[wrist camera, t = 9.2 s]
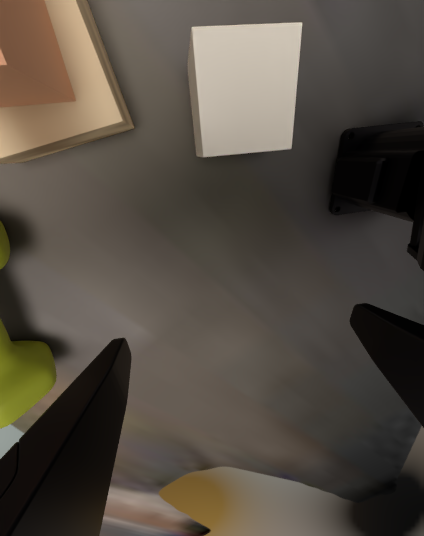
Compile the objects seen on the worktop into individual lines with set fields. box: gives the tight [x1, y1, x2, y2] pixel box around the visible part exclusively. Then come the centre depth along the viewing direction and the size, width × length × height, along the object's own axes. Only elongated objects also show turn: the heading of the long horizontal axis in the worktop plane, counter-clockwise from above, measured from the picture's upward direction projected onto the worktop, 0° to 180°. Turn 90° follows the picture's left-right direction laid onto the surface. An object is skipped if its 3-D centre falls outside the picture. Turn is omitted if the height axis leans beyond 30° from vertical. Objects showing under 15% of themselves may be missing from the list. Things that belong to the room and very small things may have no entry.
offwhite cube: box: [187, 22, 302, 157], centre depth 13 cm, size 5×5×5 cm
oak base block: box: [0, 0, 134, 164], centre depth 11 cm, size 8×8×4 cm
